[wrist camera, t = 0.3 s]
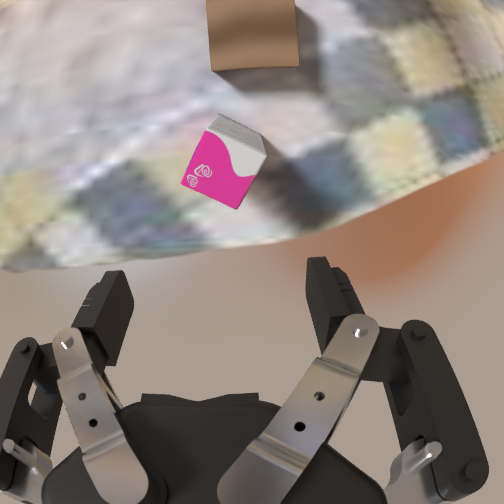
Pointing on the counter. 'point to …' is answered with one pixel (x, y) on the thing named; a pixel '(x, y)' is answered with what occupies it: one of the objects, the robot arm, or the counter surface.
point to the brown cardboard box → (252, 34)
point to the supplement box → (225, 161)
